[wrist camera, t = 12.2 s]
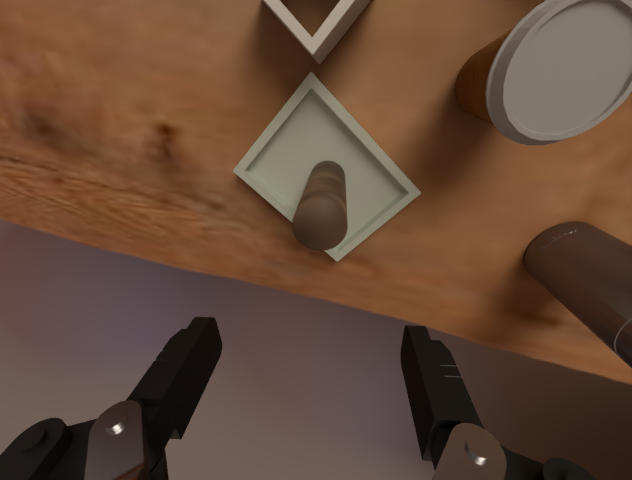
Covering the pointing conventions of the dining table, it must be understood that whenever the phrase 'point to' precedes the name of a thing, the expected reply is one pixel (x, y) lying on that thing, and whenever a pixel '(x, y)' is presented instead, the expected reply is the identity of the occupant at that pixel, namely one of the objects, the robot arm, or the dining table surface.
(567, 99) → the disposable coffee cup
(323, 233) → the walnut dowel
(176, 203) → the dining table surface
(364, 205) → the sage tray
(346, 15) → the ceramic holder
